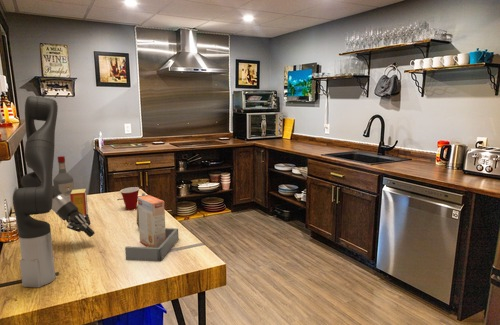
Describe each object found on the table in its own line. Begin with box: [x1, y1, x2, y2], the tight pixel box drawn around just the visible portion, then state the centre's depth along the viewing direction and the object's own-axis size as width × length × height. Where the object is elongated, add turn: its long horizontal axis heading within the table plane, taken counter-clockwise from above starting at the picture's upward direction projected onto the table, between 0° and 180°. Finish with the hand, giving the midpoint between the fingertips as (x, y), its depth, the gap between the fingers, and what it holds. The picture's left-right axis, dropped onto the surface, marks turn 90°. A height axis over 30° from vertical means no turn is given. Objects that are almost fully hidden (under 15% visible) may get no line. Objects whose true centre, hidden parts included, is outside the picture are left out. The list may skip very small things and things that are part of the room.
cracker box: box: [137, 194, 166, 248], centre depth 147 cm, size 14×6×21 cm, turn 42°
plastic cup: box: [119, 186, 140, 211], centre depth 200 cm, size 11×11×12 cm
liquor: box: [52, 155, 75, 201], centre depth 206 cm, size 9×9×30 cm
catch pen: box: [124, 227, 179, 262], centre depth 145 cm, size 22×14×5 cm, turn 174°
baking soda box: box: [71, 188, 89, 215], centre depth 181 cm, size 10×6×16 cm
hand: (92, 235), depth 147 cm, fingers closed
